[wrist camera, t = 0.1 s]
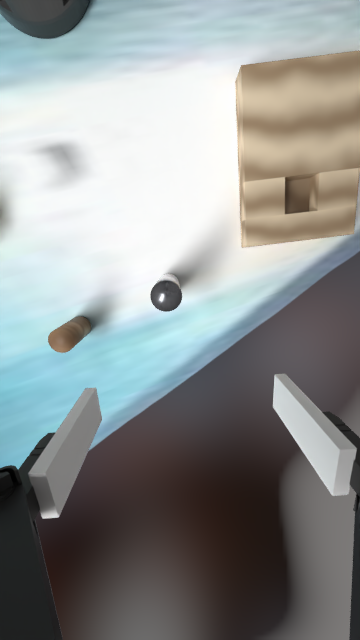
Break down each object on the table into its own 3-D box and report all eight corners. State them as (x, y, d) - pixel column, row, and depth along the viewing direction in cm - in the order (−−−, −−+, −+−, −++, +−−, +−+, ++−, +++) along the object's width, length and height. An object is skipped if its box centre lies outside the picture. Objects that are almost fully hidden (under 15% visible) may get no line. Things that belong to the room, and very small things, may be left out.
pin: (156, 274, 41) (148, 282, 28) (177, 272, 41) (180, 278, 28) (159, 296, 42) (153, 313, 30) (180, 293, 42) (183, 309, 30)
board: (235, 81, 34) (241, 65, 31) (353, 67, 33) (371, 49, 31) (241, 247, 40) (246, 246, 37) (340, 235, 40) (353, 233, 37)
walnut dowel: (68, 317, 43) (45, 330, 35) (88, 315, 43) (70, 327, 35) (73, 336, 44) (52, 353, 36) (93, 334, 44) (76, 351, 36)
